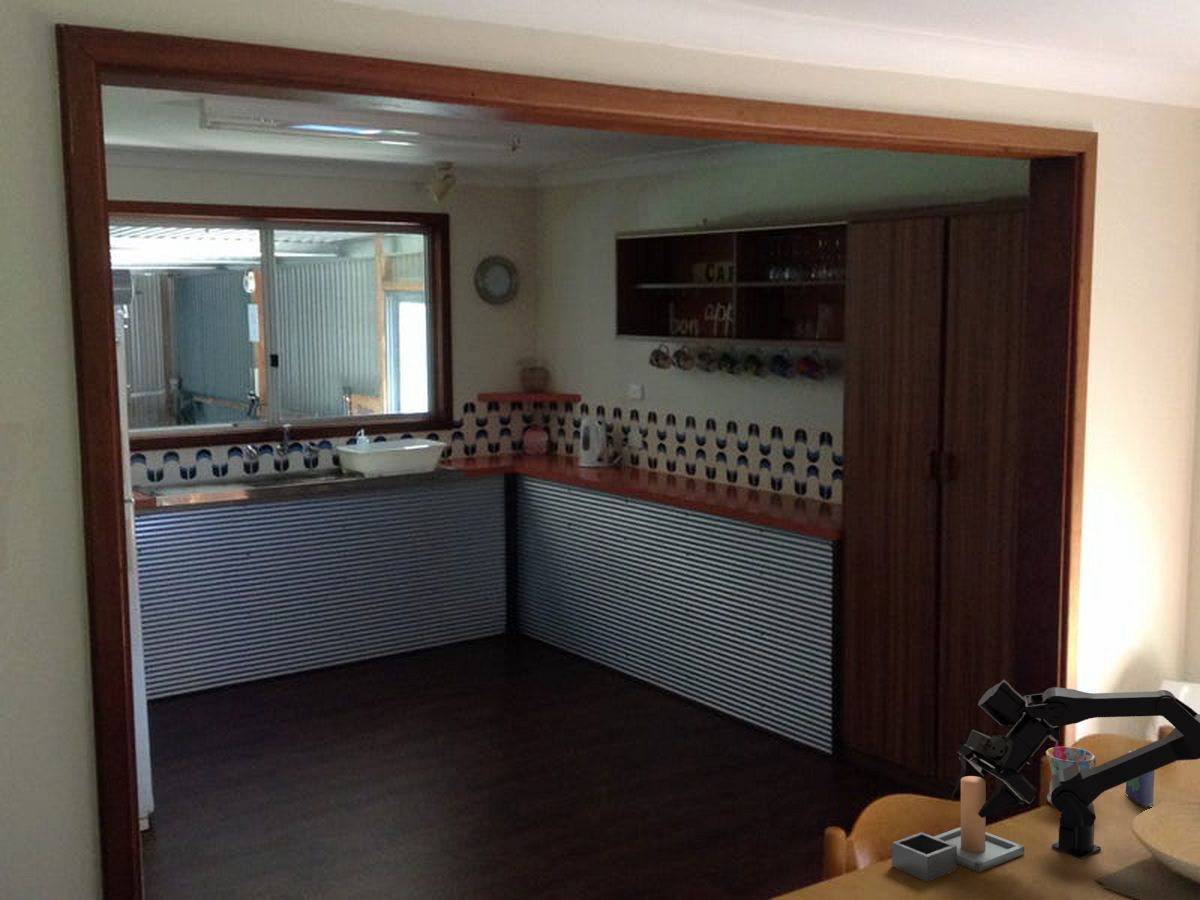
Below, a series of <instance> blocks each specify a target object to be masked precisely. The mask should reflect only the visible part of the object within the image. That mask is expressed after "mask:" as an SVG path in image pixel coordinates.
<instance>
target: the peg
mask: <svg viewBox="0 0 1200 900" xmlns="http://www.w3.org/2000/svg"><path fill="white" fill-rule="evenodd" d="M985 779H986V778H985ZM985 779H983V778H981V777H976V776H966V777H962V778H961V797H960V827H961V849H962V850H964V851H966V852H969V853H981V852H984V851H985V832H986V827H987V825H986V824H987V823H986V817H987V816H986V817H984V818H981V817H980V816H979V815H978V813H979V811H980V809H981V808H982V806H983V805H984V804H985V802H986V801H987V800H986V798H987V797H986V796H987V793H986V792H987V791H986V788H987V787H986V786H987V785H986V784H987V782H986V780H985Z"/></svg>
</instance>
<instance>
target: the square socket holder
mask: <svg viewBox="0 0 1200 900" xmlns="http://www.w3.org/2000/svg"><path fill="white" fill-rule="evenodd" d="M957 864H958V863H957V846H956V845H953V844H951V843H948V842H946V841H943V840H941V839H938V838H936V837H934V836H933V835H931V834H928V833H925V832H922V831H921V832H917V833H915V834H912V835H910V836H907V837H904V838H901V839H898V840H896V841H893V842H892V843H891V867H892V866H893V867H892V868H894V867H895V868H894V869H896V868H898V869H897V870H899V869H900V870H899V871H901V870H902V871H901V872H903V871H904V872H903V873H905V872H906V874H908V873H909V874H908V875H910V874H911V875H910V876H912V875H913V876H912V877H914V878H918V879H920V880H922V881H924V882H926V883H927V882H930V881H932V880H935V879H938V878H940V877H943V876H945V875H944V874H946V875H947V873H948V874H950V873H949V872H951V873H953V872H955V871H954V870H956V871H957ZM952 871H953V872H952ZM942 875H943V876H942Z"/></svg>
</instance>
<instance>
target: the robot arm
mask: <svg viewBox="0 0 1200 900" xmlns="http://www.w3.org/2000/svg"><path fill="white" fill-rule="evenodd" d="M977 705H978V707H980V708H981V709H982V710H983V711H984V712H985V713H986V714H988V715H989V716H990V718H992V719H993V720H994V721H995V722H997V723H998V725H1000V726H1001V727H1002V726H1006V727H1011V726H1013V725H1014V724H1015V723H1016V724H1015V725H1014V726H1013V727H1012V728H1011V729H1010V730H1009V731H1008V733H1007V734H1006V735H1004V734H1002V733H1001V734H998V735H992V736H989V735H987V734H984V733H982V732H979V731H977V730H975V729H972V730H971V731H970V734H969V736H968V739H967V741H966V743H964V744H962V745H961V747H960V748H959V749H958V750H957V754H958V755H959V756H958V759H959V761H960V765H961V770H960V774H959V776H958V780H957V781H956V785H955V787H954V790H953V792H952V795H951V797H952V799H954V800H955V801H956V800H957V801H958V800H959V799H961V778H962V777H966V776H976V777H981V778H983V779H985V781H986V780H987V779H986V777H985V776H988V775H992V776H994V777H996V778H995V783H994V784H995V786H994V790H993V791H992V793H991V794H990V796H989V797H988V798H987V800H986V802H985V804H984V805H983V806H982V808H981V809H980V811H979V813H978V815H979V816H980V817H981V818H984V817H989V816H991V815H993V814H995V813H997V812H1000V811H1002V810H1006V809H1008V808H1011V807H1014V806H1017V805H1024V804H1025V803H1027V804H1028V805H1030V804H1031V803H1032V802H1033V801H1034V800H1035V798H1036V797H1037V788H1035V786H1034V785H1032V784H1031V783H1030V781H1029V780H1028V779H1027V778H1026V777H1025V776H1024V775H1023V774H1021V773H1020V771H1021V770H1022V768H1023V767H1024V766H1026V764H1028V765H1029V766H1032V764H1034V762H1035V760H1034V759H1033V758H1032V757H1033V756H1034V754H1036V752H1037V751H1038V750H1039V749H1040V747H1041V746H1042V745H1043V744H1044V743H1045V741H1046V740H1047V739H1048V738H1049V739H1050V740H1051V741H1053V742H1061V741H1062V738H1061V734H1060V732H1061V731H1060V729H1061V727H1065V726H1069V725H1074V724H1079V723H1081V722H1084V721H1087V720H1091V719H1095V718H1124V717H1125V718H1126V717H1127V718H1128V717H1134V718H1135V717H1159V716H1160V717H1163V719H1166V721H1168V722H1169V723H1170V725H1172V726H1173V727H1174V728H1173V729H1172V730H1171V731H1170V732H1169V733H1168V734H1167V735H1166V736H1164V737H1162V738H1160V739H1158V740H1155V741H1153V742H1151V743H1149V744H1146V745H1144V746H1142V747H1138V748H1136V749H1137V750H1135V749H1134V750H1131V751H1132V752H1130V753H1128V752H1127V753H1125V754H1123V755H1120V756H1118V757H1116V758H1113V759H1111V760H1109V761H1106V762H1103V763H1102V764H1099V765H1097V766H1095V768H1091V767H1090V768H1091V769H1080V767H1079V764H1078V763H1075V764H1073V765H1071V766H1070V767H1068V768H1066V769H1063V770H1057V772H1058V774H1057V775H1055V776H1054V777H1053V778H1052V777H1051V779H1050V782H1049V784H1048V785H1049V792H1050V797H1051V802H1052V804H1051V805H1052V806H1053V807H1054V808H1055V810H1057V811H1058V812H1060V813H1061V814H1060V817H1059V826H1058V841H1057V842H1055V843H1053V844H1051V848H1052V849H1055V850H1057V851H1060V852H1062V853H1065V854H1068V855H1070V856H1073V857H1077V858H1079V859H1083V858H1085V857H1086V858H1087V857H1088V856H1091V855H1093V854H1096V853H1098V852H1100V851H1101V850H1102V847H1100V846H1099V845H1096V844H1094V843H1095V821H1096V819H1097V816H1096V812H1095V807H1094V803H1093V802H1094V801H1096V799H1098V797H1100V796H1101V795H1102V794H1103V793H1104V792H1106V791H1108V790H1111V789H1113V788H1117V787H1118V786H1120V785H1123V784H1126V782H1128V781H1130V780H1133V779H1135V778H1137V777H1140V776H1142V775H1144V774H1147V773H1149V772H1152V771H1154V772H1155V771H1157V770H1159V769H1161V768H1163V767H1165V766H1168V765H1171V764H1173V763H1175V762H1178V761H1195V760H1196V761H1197V760H1200V713H1197V712H1196V711H1195V710H1194V709H1193V708H1191V707H1190V706H1189V705H1188V704H1186V703H1185V702H1183V701H1182V700H1180V699H1178V698H1177V697H1176V696H1175V695H1174V694H1173V693H1172V691H1169V690H1166V689H1160V690H1157V691H1156V690H1155V691H1154V690H1153V691H1128V692H1125V691H1124V692H1102V693H1101V692H1097V693H1095V692H1094V693H1093V692H1092V693H1091V692H1084V691H1081V690H1077V689H1073V688H1067V687H1065V688H1064V687H1057V686H1056V687H1055V686H1054V687H1053V686H1052V687H1049V688H1047V689H1046V690H1045V691H1043V692H1042V693H1035V694H1028V695H1026V694H1025V695H1024V696H1022V695H1021V694H1020V693H1019V692H1018V691H1016V690H1015V689H1014V688H1013V686H1011V684H1010V683H1009V682H1008V681H1007V680H1005V679H1002V680H1001V681H1000V682H999V683H996V684H995V685H994V686H992V687H990V688H989V689H987V691H986V692H985V693H984V694H983V695H982V696H981V698H980V699H979V701H978V704H977Z"/></svg>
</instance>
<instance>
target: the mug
mask: <svg viewBox="0 0 1200 900" xmlns="http://www.w3.org/2000/svg"><path fill="white" fill-rule="evenodd" d="M1045 754H1046V757H1047V760H1048V763H1049V766H1050V770H1051V779H1052V778H1053V777H1054V776H1055V775H1057V774H1058V772H1057V770H1063V769H1066V768H1068V767H1070V766H1071V765H1073V764H1075V763H1078V764H1079V767H1080V769H1091V768H1095V767H1096V765H1097V764H1096V762H1097V760H1096V757H1095V754H1094V753H1093V752H1091V751H1089V750H1087V749H1083V748H1079V747H1073V746H1054V747H1050V748H1048V749H1046V751H1045ZM1046 799H1047V801H1048V803H1050V804H1051V805H1053V804H1052V802H1051V797H1050V791H1049V792H1048V793H1047V796H1046Z"/></svg>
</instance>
